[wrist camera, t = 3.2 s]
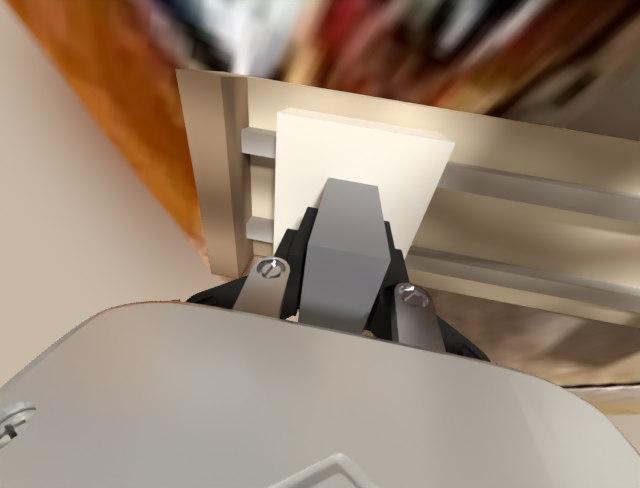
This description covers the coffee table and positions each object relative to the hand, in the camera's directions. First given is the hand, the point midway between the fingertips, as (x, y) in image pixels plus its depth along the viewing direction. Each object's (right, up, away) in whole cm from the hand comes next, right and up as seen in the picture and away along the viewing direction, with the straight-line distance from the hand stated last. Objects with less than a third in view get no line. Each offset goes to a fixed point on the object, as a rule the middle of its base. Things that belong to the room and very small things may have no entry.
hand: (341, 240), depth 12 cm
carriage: (+1, +2, +3) cm, 4 cm away
